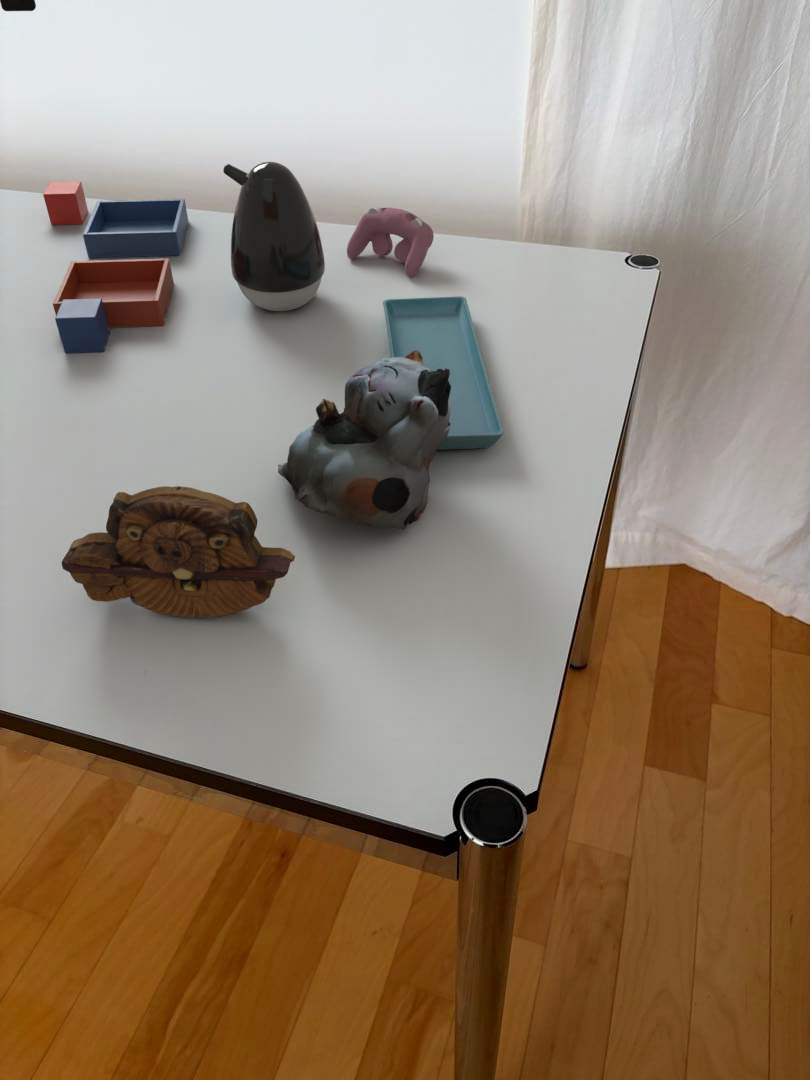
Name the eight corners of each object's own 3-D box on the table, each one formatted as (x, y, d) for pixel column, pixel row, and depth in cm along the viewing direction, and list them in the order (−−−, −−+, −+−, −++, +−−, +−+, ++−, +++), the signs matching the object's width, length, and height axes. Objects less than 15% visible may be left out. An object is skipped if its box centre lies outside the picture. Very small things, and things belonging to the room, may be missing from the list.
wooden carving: (69, 628, 65) (32, 526, 58) (86, 584, 69) (52, 482, 62) (296, 629, 65) (285, 527, 59) (301, 584, 69) (291, 482, 62)
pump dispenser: (261, 272, 106) (246, 139, 96) (341, 288, 104) (335, 153, 93) (217, 312, 99) (196, 173, 89) (302, 329, 97) (290, 188, 86)
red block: (51, 225, 116) (42, 194, 113) (57, 212, 119) (49, 181, 116) (82, 224, 116) (75, 193, 113) (88, 211, 119) (81, 181, 116)
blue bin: (88, 258, 109) (82, 234, 107) (102, 223, 116) (97, 200, 114) (180, 255, 110) (176, 232, 108) (188, 221, 117) (184, 198, 115)
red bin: (59, 329, 97) (52, 303, 94) (77, 285, 104) (71, 261, 102) (163, 325, 97) (158, 300, 95) (173, 282, 104) (169, 258, 102)
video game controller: (428, 280, 108) (443, 220, 106) (410, 277, 105) (425, 215, 102) (360, 260, 112) (373, 202, 110) (341, 256, 108) (354, 196, 106)
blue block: (64, 353, 93) (54, 318, 90) (72, 333, 96) (62, 299, 93) (103, 351, 93) (95, 317, 90) (110, 332, 96) (101, 298, 93)
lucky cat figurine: (270, 455, 80) (319, 305, 76) (393, 489, 84) (448, 349, 80) (286, 523, 67) (347, 347, 62) (431, 560, 71) (499, 397, 66)
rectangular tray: (382, 315, 99) (382, 295, 97) (464, 312, 100) (465, 292, 98) (401, 461, 80) (401, 438, 78) (503, 456, 81) (505, 434, 79)
